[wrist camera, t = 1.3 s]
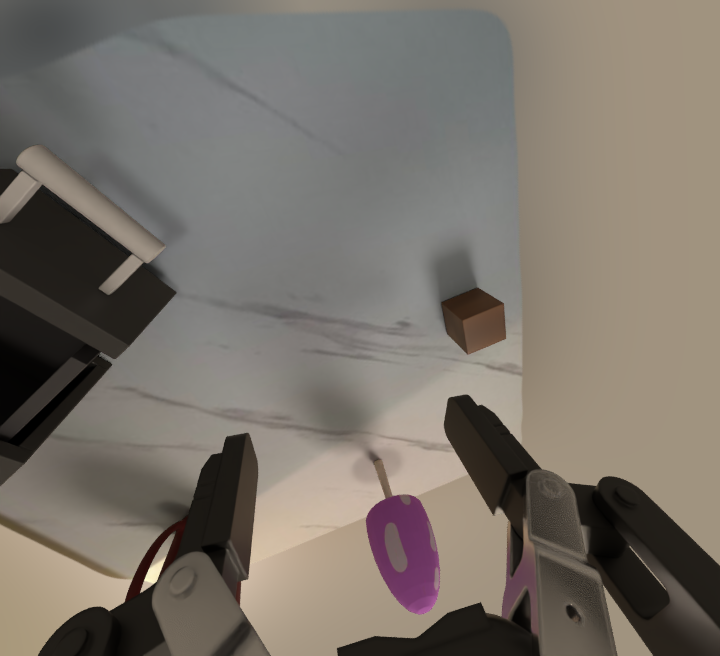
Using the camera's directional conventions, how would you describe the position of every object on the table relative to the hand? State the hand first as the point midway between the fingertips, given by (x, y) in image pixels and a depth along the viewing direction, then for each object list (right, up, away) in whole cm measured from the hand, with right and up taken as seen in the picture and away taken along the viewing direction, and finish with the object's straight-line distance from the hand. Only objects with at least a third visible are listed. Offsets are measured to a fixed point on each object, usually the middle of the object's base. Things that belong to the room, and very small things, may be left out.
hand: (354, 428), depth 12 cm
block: (+11, +6, +18) cm, 22 cm away
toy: (+3, -13, +27) cm, 30 cm away
